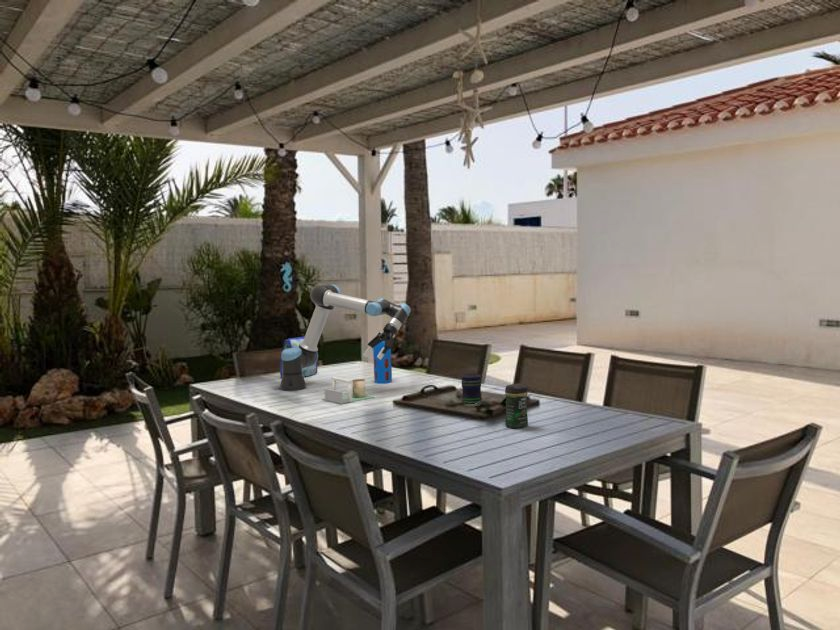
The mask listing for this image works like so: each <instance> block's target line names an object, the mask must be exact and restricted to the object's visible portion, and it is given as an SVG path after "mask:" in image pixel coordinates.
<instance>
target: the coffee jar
mask: <svg viewBox="0 0 840 630" xmlns="http://www.w3.org/2000/svg"><path fill="white" fill-rule="evenodd" d="M504 392H505V393H504V394H505V399H506V400H505V401H506V403H505V408H506V409H505V420H504V421H505V422H504V425H505V426H506V427H507V428H510V429H512V428H513V429H519V428H525V427H527V426H528V424H529V420H528V409H527V405H528V404H527V397H528V395H529V394H528V385H527V384H525V383H520V382H519V383H512V384H507V385H506V386H505V390H504Z"/></svg>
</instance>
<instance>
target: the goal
mask: <svg viewBox="0 0 840 630" xmlns="http://www.w3.org/2000/svg"><path fill="white" fill-rule="evenodd" d="M331 380H332V389H330V388H325V387H324V398H325V400H329V401H333V402H337V403H336V404H338V403H341V404H340V405H343V403H344V404H348V403H347V402H350V403H353V402H352V395H351V394H352V380H353V379H347V378H342V377H341V378H340V377H336V376H334V377H331ZM337 382H342V383H346V384H347V394H348V398H346V399H343V395H344V393H343V392H342V391H341V390H340V391H339V390H337ZM325 400H324V401H325ZM329 401H328V402H329ZM333 402H332V403H333Z"/></svg>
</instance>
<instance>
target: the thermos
mask: <svg viewBox="0 0 840 630" xmlns="http://www.w3.org/2000/svg"><path fill="white" fill-rule="evenodd" d="M384 346H385V341H383V342H380V343H379V344H377V345H376V346H375V347H373V350H372V351H373V353H372V354H373V378H374V380H373V381H374V384H382V385H383V384H390V383H392V382H393V381H392V380H393V379H392V378H393V371H392V369H393V368H392V349H389V350H387V352H386V353H385V354H384V356H383V357H382V359H381V360H380V359H379V358H378V357H377V356H378V354H379V353H380V351H381V350H382V348H383V347H384ZM384 348H385V347H384Z"/></svg>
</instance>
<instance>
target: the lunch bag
mask: <svg viewBox="0 0 840 630" xmlns="http://www.w3.org/2000/svg"><path fill="white" fill-rule="evenodd" d="M304 338H305V335H304V336H299V337H292V338H291V337H290V338H289V337H288V339H285V340H284V342H283V346H282V350H281V352H282V351H283V350H285V349H289V348H298V347H299V344H300V343H301V342H303V341H304ZM318 351H319V350H318ZM318 351H317V352H318ZM318 353H319V352H318ZM280 355H281V356H282V354H280ZM281 356H280V357H281ZM279 373H280V375H279V377H280V378H281V379H282V359H281V358H280V362H279ZM317 373H318V361H317V362H316V363H315V364H314V365H312V366H309V367H305V368H302V375H303V378H305V376H306V377H310V375H311V376H314V374H315V375H317Z"/></svg>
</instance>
